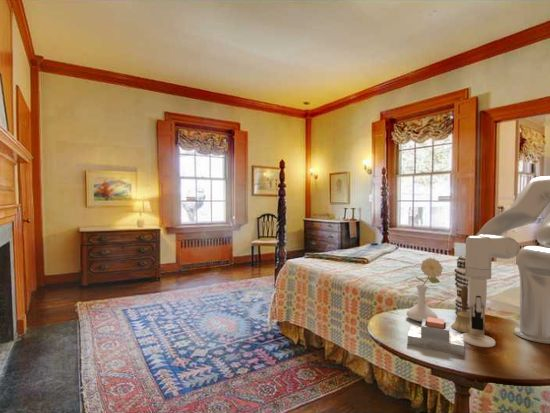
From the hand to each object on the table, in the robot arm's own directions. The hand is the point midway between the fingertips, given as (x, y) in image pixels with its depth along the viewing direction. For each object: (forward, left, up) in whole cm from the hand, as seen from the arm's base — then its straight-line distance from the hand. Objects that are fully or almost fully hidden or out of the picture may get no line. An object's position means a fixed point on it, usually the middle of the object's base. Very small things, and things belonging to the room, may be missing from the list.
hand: (477, 326), depth 110 cm
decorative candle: (-6, -23, -5) cm, 24 cm away
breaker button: (+15, +5, -1) cm, 16 cm away
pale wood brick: (0, 0, -3) cm, 3 cm away
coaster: (0, 0, -5) cm, 5 cm away
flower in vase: (+12, -18, -5) cm, 22 cm away
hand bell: (0, -11, -5) cm, 12 cm away
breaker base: (+15, +5, -5) cm, 16 cm away
